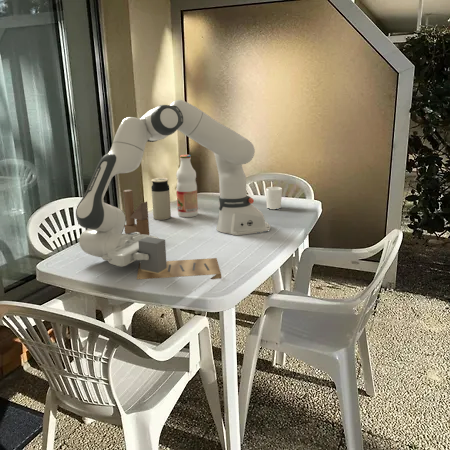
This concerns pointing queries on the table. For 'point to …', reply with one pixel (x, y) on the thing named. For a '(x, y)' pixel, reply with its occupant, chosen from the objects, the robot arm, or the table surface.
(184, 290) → the table surface
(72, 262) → the table surface
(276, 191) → the white cup
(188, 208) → the fruit juice
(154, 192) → the travel mug
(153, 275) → the oak board
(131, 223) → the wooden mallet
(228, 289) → the table surface
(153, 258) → the block
